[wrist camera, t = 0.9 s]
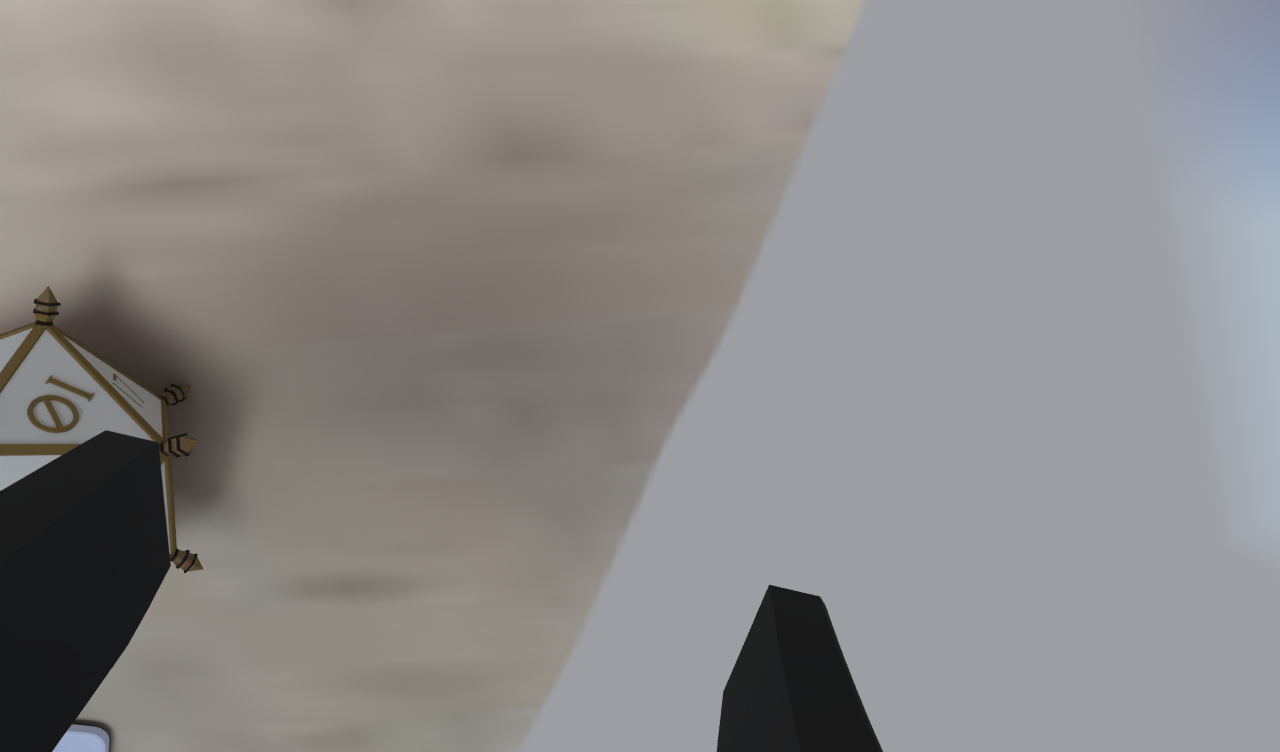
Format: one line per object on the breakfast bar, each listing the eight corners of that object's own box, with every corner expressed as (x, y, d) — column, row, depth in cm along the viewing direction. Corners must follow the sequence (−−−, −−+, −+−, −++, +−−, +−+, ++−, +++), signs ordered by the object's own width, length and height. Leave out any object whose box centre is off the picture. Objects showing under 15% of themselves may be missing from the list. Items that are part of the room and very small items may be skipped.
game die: (95, 408, 32) (-267, 604, 24) (66, 189, 26) (-412, 356, 19) (299, 560, 29) (-29, 825, 22) (314, 357, 24) (-115, 619, 17)
